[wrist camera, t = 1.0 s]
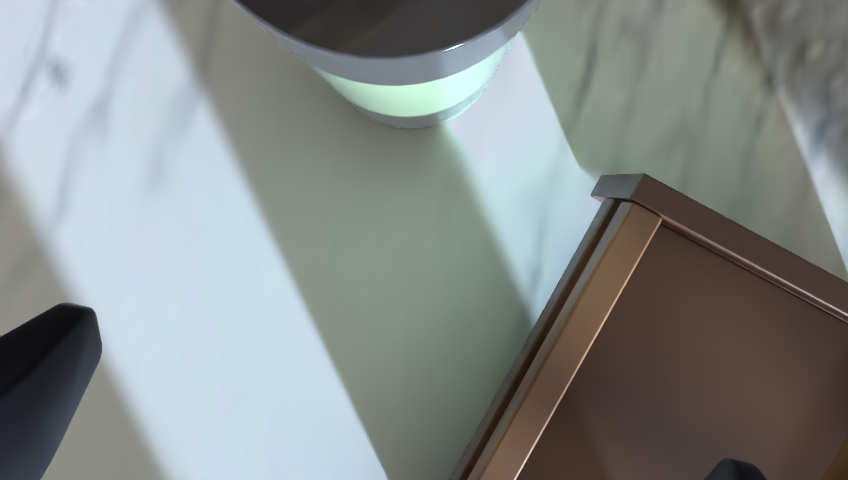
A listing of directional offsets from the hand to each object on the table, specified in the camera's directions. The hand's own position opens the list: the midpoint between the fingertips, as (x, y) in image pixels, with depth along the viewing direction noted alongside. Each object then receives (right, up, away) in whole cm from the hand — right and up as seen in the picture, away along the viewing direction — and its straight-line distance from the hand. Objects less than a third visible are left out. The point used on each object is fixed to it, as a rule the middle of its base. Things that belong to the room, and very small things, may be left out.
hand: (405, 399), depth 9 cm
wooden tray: (+8, -4, +14) cm, 16 cm away
